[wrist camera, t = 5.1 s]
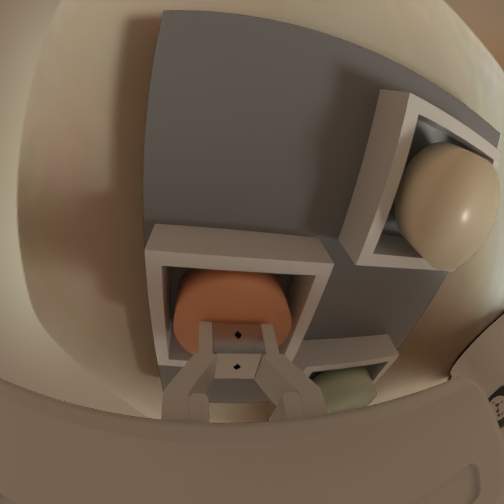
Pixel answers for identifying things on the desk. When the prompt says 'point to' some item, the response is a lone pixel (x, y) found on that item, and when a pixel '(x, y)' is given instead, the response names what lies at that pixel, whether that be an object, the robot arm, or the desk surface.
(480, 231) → the sand button
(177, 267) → the button console
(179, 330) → the terracotta button
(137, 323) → the desk surface
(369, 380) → the sage button
